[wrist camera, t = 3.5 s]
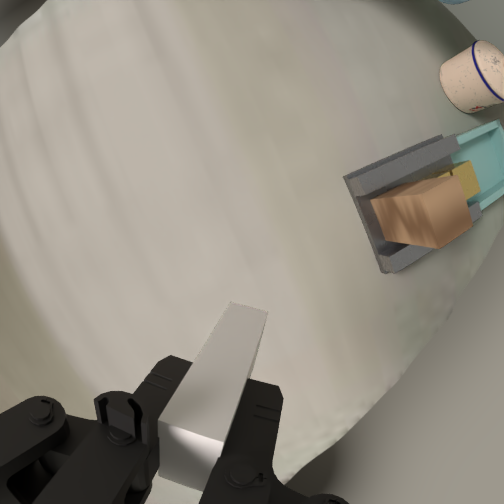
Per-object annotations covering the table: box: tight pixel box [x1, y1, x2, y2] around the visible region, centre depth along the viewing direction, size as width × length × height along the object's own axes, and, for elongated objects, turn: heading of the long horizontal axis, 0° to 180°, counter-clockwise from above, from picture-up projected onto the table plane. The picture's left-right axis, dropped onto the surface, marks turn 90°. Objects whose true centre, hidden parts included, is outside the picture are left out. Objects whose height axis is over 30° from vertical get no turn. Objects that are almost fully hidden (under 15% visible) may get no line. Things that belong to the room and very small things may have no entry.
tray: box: [450, 119, 504, 210], centre depth 33 cm, size 10×12×3 cm
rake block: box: [370, 175, 473, 249], centre depth 28 cm, size 5×5×10 cm
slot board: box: [343, 134, 483, 274], centre depth 32 cm, size 12×16×4 cm
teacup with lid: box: [440, 40, 504, 113], centre depth 27 cm, size 12×9×12 cm
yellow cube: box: [432, 160, 481, 200], centre depth 31 cm, size 4×4×4 cm
